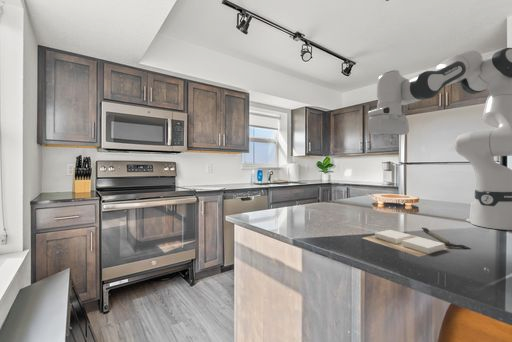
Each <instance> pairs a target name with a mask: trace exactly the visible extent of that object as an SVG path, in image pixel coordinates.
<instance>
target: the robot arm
mask: <svg viewBox="0 0 512 342" xmlns="http://www.w3.org/2000/svg"><path fill="white" fill-rule="evenodd" d="M458 82H459V83H460V86H461V87H460V88H461V89H462V91H464V92H466V93H468V94H470V95H476V94H480V93H482V92H484V91H486V90H487V92H488V95H487V97H486V100H485V104H484V109H483V113H482V116H481V117H482V120H483V122H484V123H486V124H487V125H488V126H490V127H492V128H488V129H481V130H480V129H479V130H473V131H472V130H471V131H468V132H464V133H460V134H459V135H458V136H457V137H456V139H455V141H454V149H455V151H456V153H457V154H458V155H459V156H462V157H463V158H465V159H466V160H467V161H468V162H469V163H470V164H471V166H472V167H473V170H474V174H475V188H476V189H475V190H474V201H472V202H471V203H470V212H469V218H466V220H465V221H466V222H468V223H470V224H472V225H474V226H478V227H482V228H487V229H495V230H506V231H512V169H511V168H509V167H508V166H505V165H502V164H500V163H497V162H496V160H495V158H494V157H507V156H509V157H510V156H512V47H505V48H503V49H500V50H498V51H496V52H494V54H493V55H490V56H489V57H488V58H486V59H485V60H484V59H483V56H482V54H481V53H480V52H479V51H477V50H473V49H472V50H466V51H463V52H459V53H456V54H455V55H452V56H450V57H448V58H446V59H444V60H443V61H441V62H440V63H439V64H437V66H436V67H435V69H434V70H426V71H423V72H422V73H419V74H417V75H415V76H413V77H411V78H406V77H404V76H403V75H401V73H400V71H399V70H396V69H395V70H391V71H387V72H384V73H383V74H381V75H380V76H378V79H377V85H376V98H377V104H376V108H375V109H374V108H373V109H372V110H369V111H368V113H367V115H368V117H369V118H368V123H367V124H368V127H367V129H368V132H369V134H370V135H382V138H383V140H384V142H385V143H384V144H385V146H388V147H391V146H394V145H395V140H396V138H397V136H404V135H408V134H409V132H410V129H409V128H410V127H409V126H410V125H409V120H408V118H407V115H405V113H404V112H402V106H406V105H410V104H413V103H417V102H420V101H423V100H429V99H433V98H434V97H436V96H437V95H438V94H439V93H440V92H441V90H442V89H443V88H445V86H449V85H453V84H456V83H458Z"/></svg>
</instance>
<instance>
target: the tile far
mask: <svg viewBox="0 0 512 342" xmlns="http://www.w3.org/2000/svg"><path fill="white" fill-rule="evenodd" d="M374 235H375V237H376V238H379V239H382V240H385V241H389V242H392V243H395V244H397V243H401V242H402V240H406V239H410V238H412V234H410V235H409V233H406V234H405V232H402V233H401V231H398V232H397V230H393V229H386V230H382V231H376V232H374Z"/></svg>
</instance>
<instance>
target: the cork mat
mask: <svg viewBox="0 0 512 342" xmlns="http://www.w3.org/2000/svg"><path fill="white" fill-rule="evenodd" d="M396 231H397V230H396ZM397 232H399V231H397ZM400 232H401V231H400ZM401 233H403V232H401ZM404 233H405V232H404ZM405 234H407V233H405ZM408 234H409V233H408ZM409 235H412V234H409ZM415 237H419V236H418V235H414V234H413V235H412V238H415ZM420 237H421V236H420ZM421 238H423V237H421ZM362 239H363V240H367V241H369V242H372V243H375V244H378V245H381V246H385V247H387V248H390V249H394V250H397V251H399V252H400V251H401V252H403V253H406V254H409V255H411V256H415V257H418V258H420V257H424V256H427V255H430V254H434V253H438V252H442V251H445V250H448V249H452V248H454V247H453V246H445V249H443V250H439V251H436V252H432V253H429V254H428V253H424V252H421V251H418V250H415V249H411V248H408V247H405V246H402V242H401V243H397V244H395V243H392V242H389V241H385V240H382V239H379V238H376V237H375V234H374V235H369V236H364V237H362ZM425 239H428V240H430V239H429V238H426V237H425ZM431 240H432V241H434V240H433V239H431ZM435 241H436V242H438V241H437V240H435ZM439 242H440V243H442V242H441V241H439Z"/></svg>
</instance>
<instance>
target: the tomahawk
mask: <svg viewBox="0 0 512 342" xmlns="http://www.w3.org/2000/svg"><path fill="white" fill-rule="evenodd" d="M421 230H423V232H424V233H426V234H428V235H429V236H430V237H432V238H434V239H436V240H438V241H439V242H441V243H444V244H445V246H453V247H452V248H459V249H460V248H461V249H468V250H471V249H472V248H471V247H469V246H466V245H464V244H455V243H453V242H450V241H449V240H447V239H445V238H443V237H441V236H440V235H438V234H436V233H434V232H432V231H431V232H430V230H429V229H428V228H426V227H421Z"/></svg>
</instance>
